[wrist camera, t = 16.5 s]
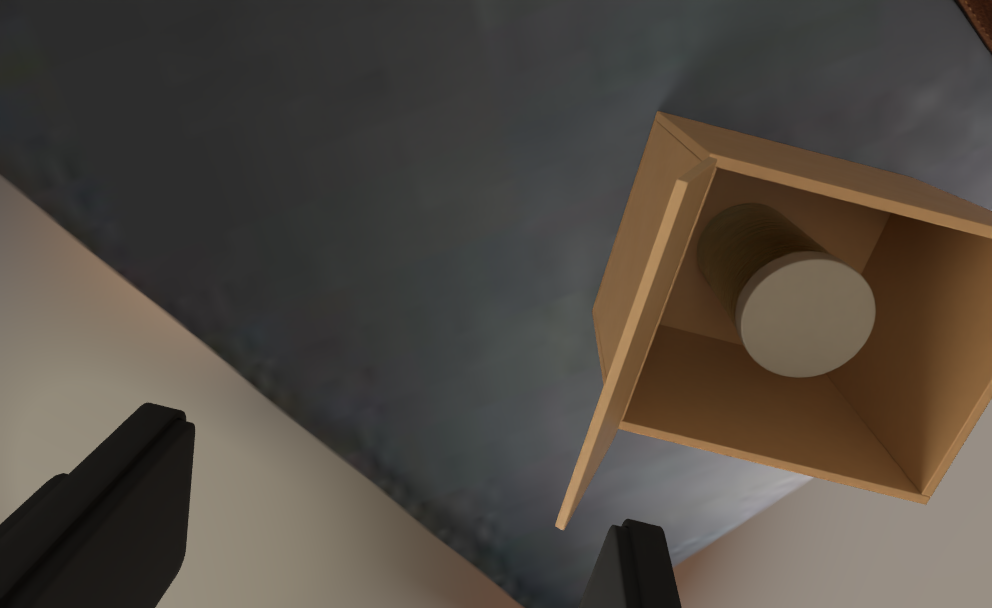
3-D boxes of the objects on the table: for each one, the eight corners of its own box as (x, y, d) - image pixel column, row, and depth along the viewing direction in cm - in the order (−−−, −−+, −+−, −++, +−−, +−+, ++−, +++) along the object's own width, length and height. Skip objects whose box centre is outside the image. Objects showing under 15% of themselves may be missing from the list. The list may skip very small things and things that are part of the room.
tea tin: (715, 189, 33) (771, 244, 25) (812, 214, 34) (900, 277, 25) (680, 281, 35) (721, 361, 27) (772, 304, 35) (842, 391, 27)
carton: (591, 311, 37) (610, 427, 26) (657, 110, 33) (710, 152, 22) (818, 368, 37) (926, 505, 27) (912, 177, 33) (1084, 250, 22)
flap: (614, 436, 26) (607, 433, 26) (718, 159, 21) (708, 155, 22) (563, 530, 20) (554, 526, 20) (688, 182, 16) (676, 178, 16)
